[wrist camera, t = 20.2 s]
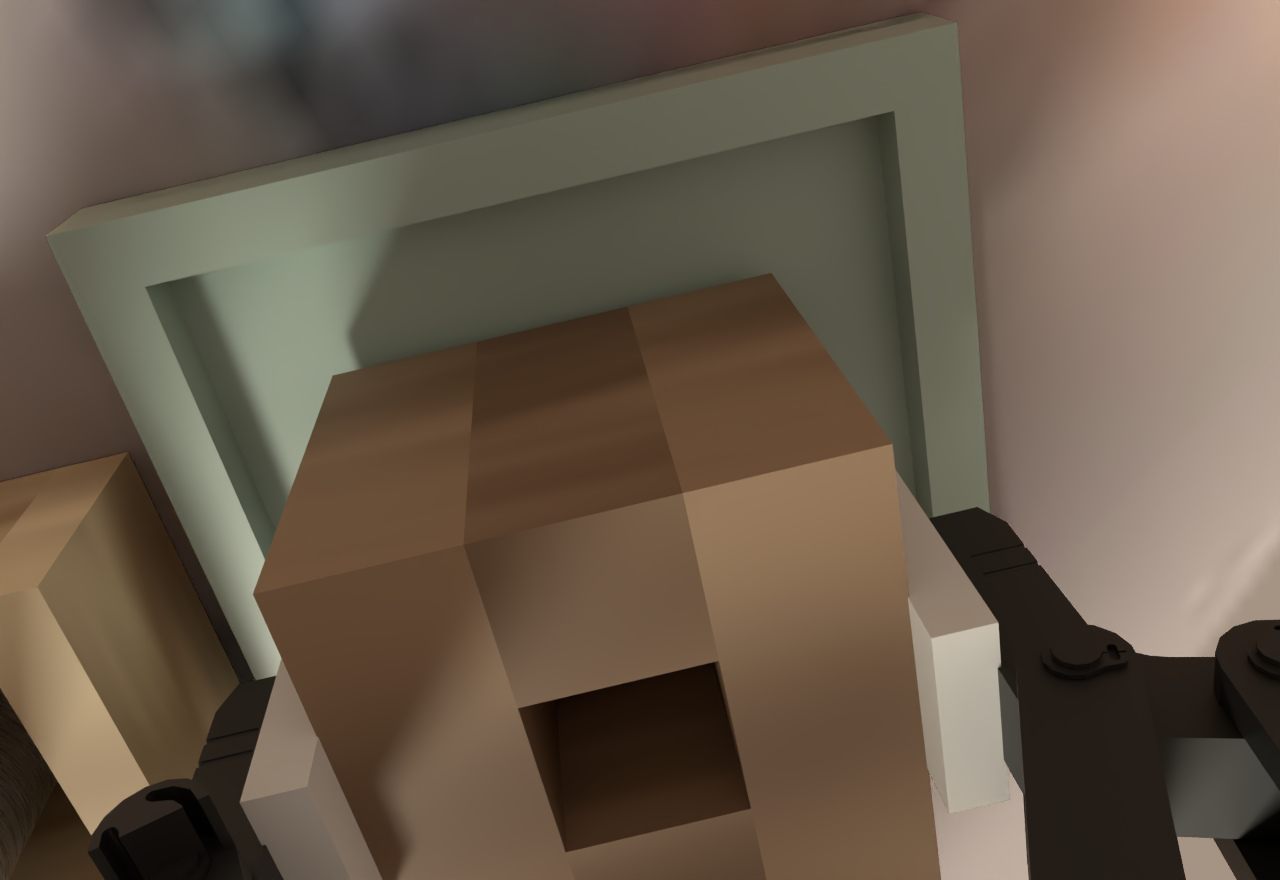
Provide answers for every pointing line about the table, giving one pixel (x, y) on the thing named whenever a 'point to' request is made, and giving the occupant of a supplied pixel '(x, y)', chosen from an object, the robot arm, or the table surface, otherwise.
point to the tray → (548, 263)
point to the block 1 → (100, 650)
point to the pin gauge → (19, 787)
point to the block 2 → (610, 605)
